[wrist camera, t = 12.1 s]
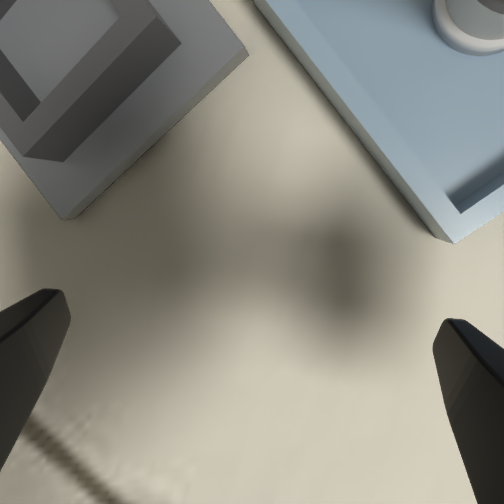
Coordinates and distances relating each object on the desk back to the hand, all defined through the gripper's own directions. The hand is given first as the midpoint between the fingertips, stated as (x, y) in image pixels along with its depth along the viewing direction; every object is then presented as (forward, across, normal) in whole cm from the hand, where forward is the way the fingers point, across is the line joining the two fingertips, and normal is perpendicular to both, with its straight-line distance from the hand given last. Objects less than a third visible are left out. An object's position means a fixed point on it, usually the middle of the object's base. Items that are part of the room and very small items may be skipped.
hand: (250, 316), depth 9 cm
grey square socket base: (+14, +9, -4) cm, 17 cm away
